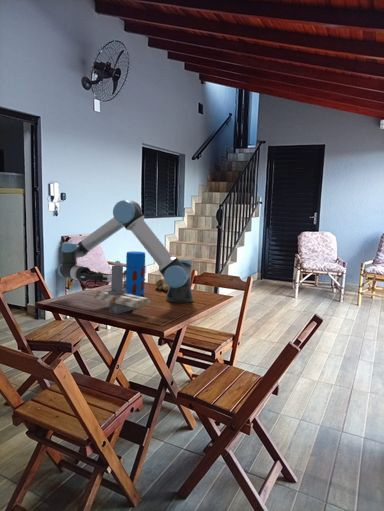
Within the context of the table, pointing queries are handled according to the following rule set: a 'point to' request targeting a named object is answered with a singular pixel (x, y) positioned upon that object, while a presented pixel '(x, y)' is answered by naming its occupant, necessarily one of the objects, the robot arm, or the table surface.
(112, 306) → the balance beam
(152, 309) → the table surface
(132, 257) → the thermos
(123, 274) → the watch
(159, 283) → the ginger root
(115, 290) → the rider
